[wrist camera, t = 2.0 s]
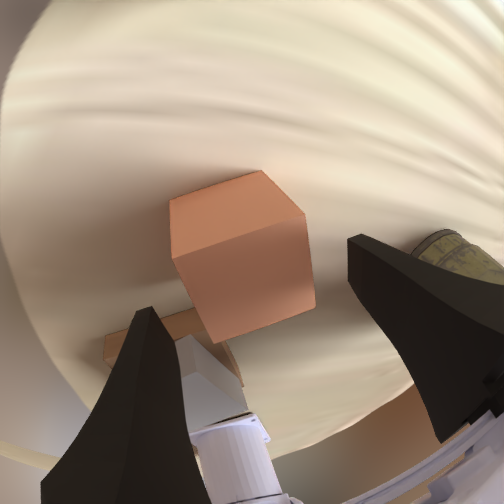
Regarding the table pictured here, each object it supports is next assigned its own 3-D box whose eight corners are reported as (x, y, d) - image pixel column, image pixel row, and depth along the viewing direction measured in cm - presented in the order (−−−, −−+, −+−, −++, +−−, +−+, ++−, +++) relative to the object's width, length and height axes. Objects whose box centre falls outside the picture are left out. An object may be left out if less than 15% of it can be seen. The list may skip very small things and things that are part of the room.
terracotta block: (277, 246, 16) (315, 307, 12) (199, 273, 16) (213, 343, 12) (261, 170, 14) (305, 214, 9) (169, 199, 13) (171, 259, 9)
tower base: (236, 360, 21) (244, 386, 19) (153, 384, 21) (155, 410, 19) (206, 297, 17) (213, 327, 15) (106, 329, 17) (103, 359, 15)
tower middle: (239, 379, 19) (248, 409, 17) (168, 408, 19) (172, 437, 17) (190, 334, 15) (196, 371, 13) (110, 371, 15) (109, 405, 13)
